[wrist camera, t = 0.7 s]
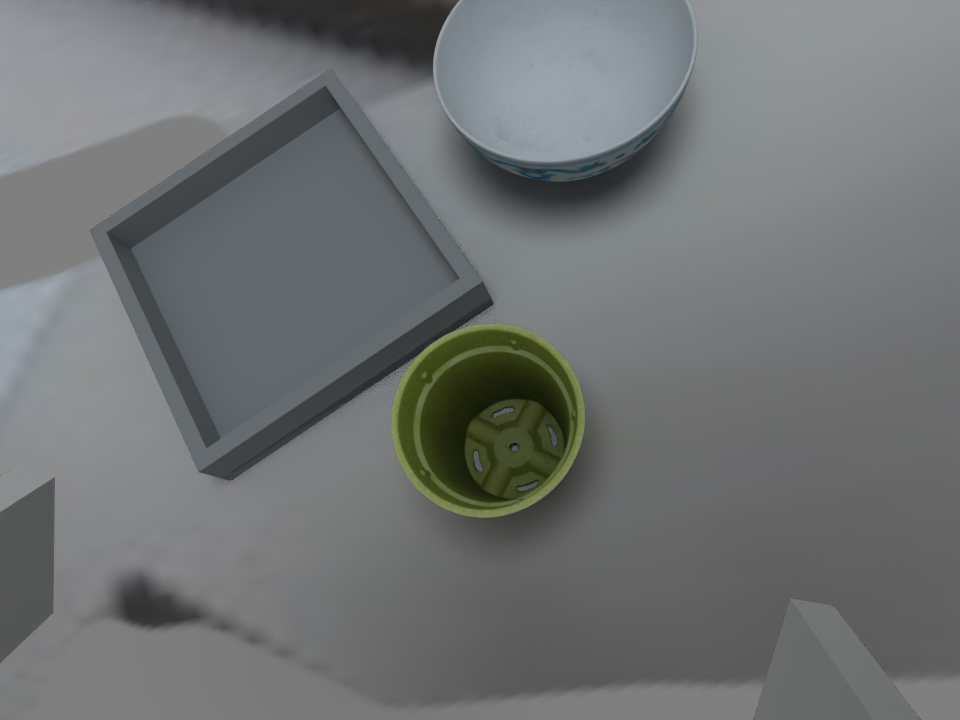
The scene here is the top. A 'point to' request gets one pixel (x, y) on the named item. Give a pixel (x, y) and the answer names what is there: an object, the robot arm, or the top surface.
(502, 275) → the top surface
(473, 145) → the chinaware
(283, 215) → the tray
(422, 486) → the plant pot
